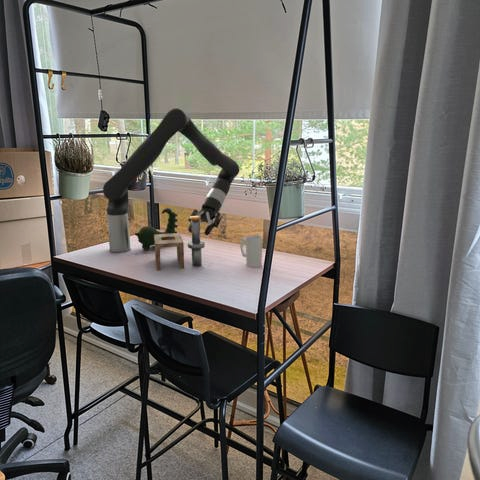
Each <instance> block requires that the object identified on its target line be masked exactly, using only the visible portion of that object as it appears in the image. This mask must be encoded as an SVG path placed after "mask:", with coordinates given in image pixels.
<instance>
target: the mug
mask: <svg viewBox="0 0 480 480" xmlns="http://www.w3.org/2000/svg"><path fill="white" fill-rule="evenodd" d="M244 243H245V249H244ZM239 245H240V252H241V255H242V257H243V258H246V259H245V262H246V266H247V267H249V268H258V267H261V266H262V262H263V261H262V260H263V259H262V258H263V236H262V235H258V234H250V235H249V234H248V235H247V236H245V237H242V239H241V241H240V243H239Z"/></svg>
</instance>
